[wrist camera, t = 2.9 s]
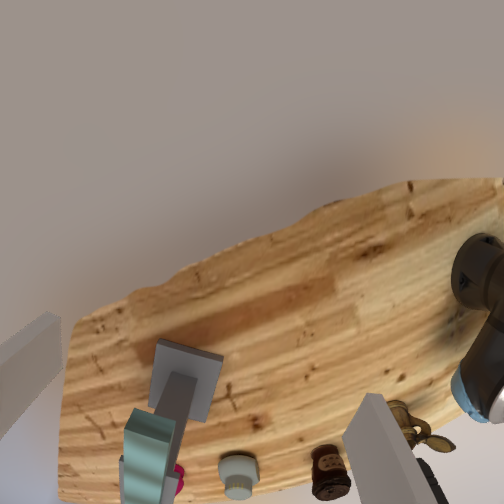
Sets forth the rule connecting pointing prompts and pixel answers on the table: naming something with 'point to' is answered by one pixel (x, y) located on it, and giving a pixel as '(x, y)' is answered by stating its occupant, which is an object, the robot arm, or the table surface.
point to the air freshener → (238, 476)
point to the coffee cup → (329, 474)
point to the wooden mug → (410, 434)
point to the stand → (179, 398)
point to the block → (146, 456)
